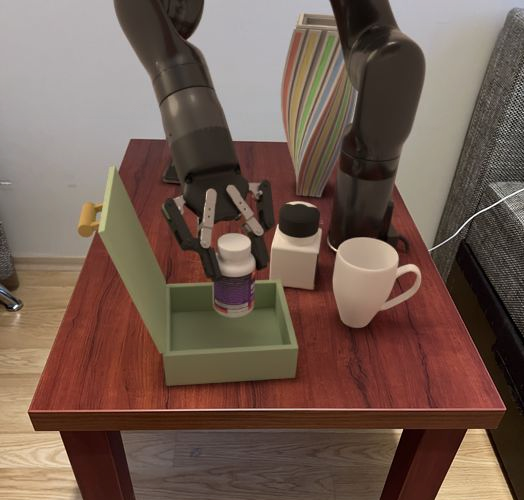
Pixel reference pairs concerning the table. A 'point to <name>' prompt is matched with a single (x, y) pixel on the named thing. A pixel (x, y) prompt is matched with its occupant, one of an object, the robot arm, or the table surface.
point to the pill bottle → (234, 276)
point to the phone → (171, 173)
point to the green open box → (227, 337)
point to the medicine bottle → (296, 246)
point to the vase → (315, 100)
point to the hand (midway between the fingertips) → (240, 274)
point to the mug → (367, 279)
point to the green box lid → (129, 254)
